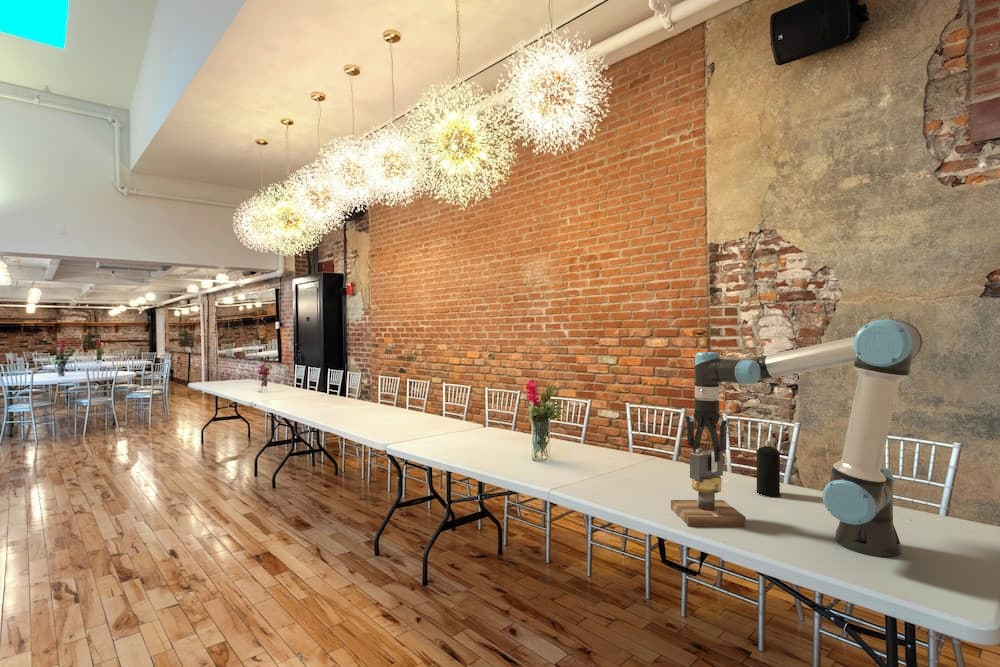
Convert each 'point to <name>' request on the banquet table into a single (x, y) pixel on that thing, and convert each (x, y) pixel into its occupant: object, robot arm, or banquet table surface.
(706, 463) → the coupling
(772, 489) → the aerosol can
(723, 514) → the base
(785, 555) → the banquet table surface
